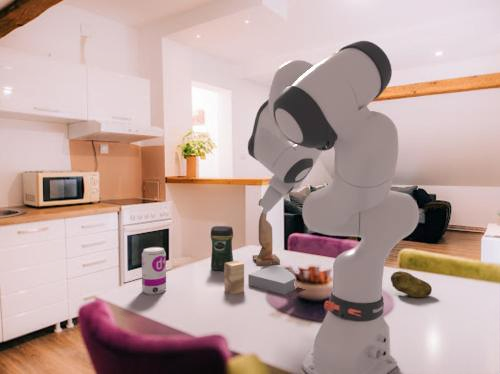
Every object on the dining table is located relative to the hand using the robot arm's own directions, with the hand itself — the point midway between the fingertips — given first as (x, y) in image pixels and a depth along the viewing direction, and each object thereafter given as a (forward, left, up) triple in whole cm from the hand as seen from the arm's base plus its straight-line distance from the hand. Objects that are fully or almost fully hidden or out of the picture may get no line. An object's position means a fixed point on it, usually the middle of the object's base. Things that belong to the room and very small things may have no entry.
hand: (270, 205), depth 118 cm
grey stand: (+13, +5, -31) cm, 34 cm away
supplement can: (-21, +35, -31) cm, 52 cm away
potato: (+32, -37, -31) cm, 58 cm away
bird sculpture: (+35, +27, -31) cm, 54 cm away
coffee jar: (+14, +35, -31) cm, 49 cm away
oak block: (-3, +13, -31) cm, 34 cm away
